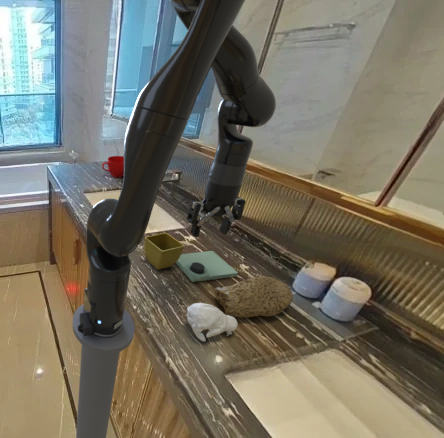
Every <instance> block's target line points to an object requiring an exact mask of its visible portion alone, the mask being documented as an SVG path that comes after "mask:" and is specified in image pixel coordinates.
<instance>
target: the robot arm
mask: <svg viewBox="0 0 444 438" xmlns="http://www.w3.org/2000/svg"><path fill="white" fill-rule="evenodd" d="M245 2H246V0H169V4H170V5H171V7H172V9H173V11H174V13H175V14H176V16H177V17H178V19H179V20H180V22H181V23H182V24H183V26H184V27H185V29H186V30H187V32H186V33H185V35H184V37H183V39H182V41H181V42H180V44H179V45H178V46H177V48H176V50H175V51H174V52H173V53H172V54H171V55H170V57H169V58H168V59H167V60H166V61H165V63H163V64H162V66H161V67H160V68H159V69H158V70H157V71H156V72H155V74H153V76H152V77H151V78H150V79H149V81H148V82H146V84H145V85H144V87H142V90H141V91H140V93H138V96H137V98H136V101H135V103H134V107H133V108H132V112H131V114H130V118H129V120H128V124H127V126H126V130H125V135H124V140H123V141H124V142H123V156H124V176H123V180H122V186H121V190H120V194H119V196H118V199H116V198H103V199H101V200H100V201H98V202H97V203H96V204H95V205H93V207H92V208H91V209H90V211H89V214H88V216H87V221H86V237H85V241H86V242H85V243H86V245H85V247H86V248H85V250H86V257H87V261H88V268H87V269H88V270H87V284H86V288H84V291H83V304H84V305H83V304H82V305H83V313H80V325H79V326H78V331H79V332H81V333H83V334H84V336H89V335H96V336H98V337H102V338H111V337H114V336H116V335H117V334H119V333H120V331H121V329H122V324H123V315H124V309H125V307H126V301H127V296H128V290H129V289H128V287H129V281H130V276H131V271H132V262H131V258H130V254H132V253H133V252H134V251H135V250H136V249H137V248H138V247H139V246H140V244H141V242H142V241H143V239H144V238H145V234H146V232H147V228H148V225H149V222H150V219H151V215H152V213H153V209H154V206H155V202H156V200H157V196H158V193H159V191H160V188H161V185H162V184H163V181H164V179H165V177H166V173H167V171H168V168H169V165H170V163H171V160H172V159H173V156H174V154H175V151H176V149H177V147H178V145H179V143H180V141H181V139H182V137H183V134H184V132H185V129H186V127H187V125H188V122H189V120H190V118H191V114H192V112H193V110H194V107H195V105H196V102H197V100H198V97H199V95H200V93H201V90H202V88H203V86H204V84H205V82H206V78H207V77H208V74H209V72H210V71H211V74H212V77H213V80H214V82H215V85H216V88H217V91H218V93H219V96H220V97H221V98H222V99H221V100H220V102H219V104H218V107H217V115H216V116H217V118H216V119H217V146H216V149H215V153H214V158H213V161H212V164H211V166H210V169H209V171H208V177H207V180H206V183H205V188H204V191H203V192H204V198H203V200H202V201H196V200H195V199H193V200H191V202H190V206H189V208H188V211H187V215H186V220H187V222H189V223H190V224H191V229H190V233H191V235H192V236H193V237H194V238H199V237H200V233H201V229H202V225H203V224H204V223H205V222H206V221H209V220H210V219H211V218H216V217H223V219H222V221H221V225H220V227H219V232H220V233H221V234H223V235H228V233H229V232H230V229H231V226H232V224H233V223H234V222H235V221H240V220H241V219H242V216H243V213H244V209H245V205H246V200H245V199H243V198H242V197H240V196H239V194H240V192H241V188H242V185H243V182H244V179H245V175H246V171H247V165H248V162H249V159H250V156H251V153H252V149H253V146H254V141H253V139H251V137H249V136H246V135H245V134H242V133H241V132H239V130H238V126H240V127H249V128H259V127H262V126H263V125H266V124H267V123H269V121H271V119H272V118H273V116H274V114H275V112H276V107H277V101H276V97H275V94H274V92H273V90H272V89H271V88H270V86H269V85H268V83H267V82H266V80H265V79H264V78H263V77H262V76H261V75H260V72H259V71H260V70H259V66H258V61H257V56H256V53H255V50H254V48H253V47H252V44H251V42H250V41H248V39H247V38H246V37H245V36H244V34H242V32H240V31H239V30H238V29H237V27H235V25H234V23H235V21H236V19H237V17H238V15H239V13H240V12H241V10H242V7H243V6H244V3H245ZM204 213H205V214H204ZM81 328H82V329H81Z"/></svg>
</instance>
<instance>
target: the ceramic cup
mask: <svg viewBox="0 0 444 438" xmlns="http://www.w3.org/2000/svg"><path fill="white" fill-rule="evenodd" d="M105 165H107V169H106V168H105ZM101 168H102V170H103V171H105V172H108V173H109V174H110V175H111V176H112V178H113V177H114V178H119V179H120V178H124V155H113V156H109V157H108V158H107V162H106V161H105V162H103V163H102V164H101Z"/></svg>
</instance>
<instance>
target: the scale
mask: <svg viewBox="0 0 444 438" xmlns="http://www.w3.org/2000/svg"><path fill="white" fill-rule="evenodd" d="M194 262H197V263H201V264H202V265H204V267H205V269H204V272H203V273H202V274H196V273H194V272H192V271H191V269H190V268H191V265H192V263H194ZM175 264H176V266H178V267H179V269H180V270H181V271H182V272H183V273H184V274H185V276H187V277H188V279H189V280H190V281H191V282H192V283H197V282H204V281H212V280H219V279H227V278H235V277H238V275H239V272H238V271H236V270H235V268H233V267H232V266H231V265H230V264H229V263H227V261H225V260H224V259H223V258H222V257H221V256H219V254H217V253H216V252H215V251H214V250H206V251H199V252H198V251H197V252H191V253H181V256H180V258H179V259H178V261H177V262H176V263H175Z"/></svg>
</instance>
